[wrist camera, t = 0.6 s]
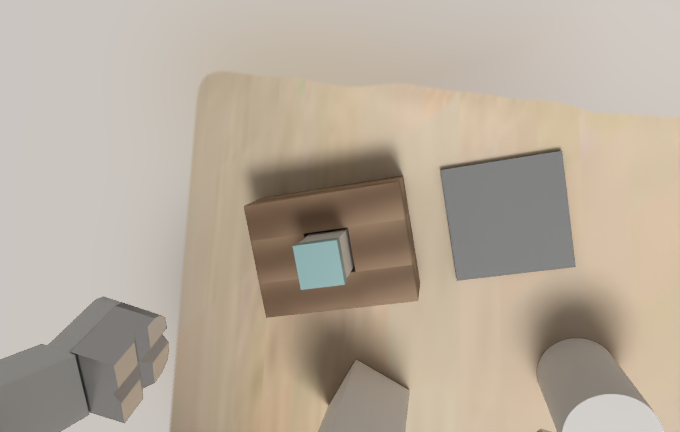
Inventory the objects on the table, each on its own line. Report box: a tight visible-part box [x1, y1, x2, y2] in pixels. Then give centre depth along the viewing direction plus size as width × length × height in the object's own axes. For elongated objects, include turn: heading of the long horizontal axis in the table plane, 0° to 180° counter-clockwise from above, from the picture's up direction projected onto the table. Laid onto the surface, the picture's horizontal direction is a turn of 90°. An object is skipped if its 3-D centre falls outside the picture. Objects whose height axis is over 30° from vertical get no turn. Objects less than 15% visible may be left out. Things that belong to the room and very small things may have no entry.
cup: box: [537, 338, 664, 432], centre depth 51 cm, size 8×8×12 cm
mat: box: [441, 151, 576, 281], centre depth 55 cm, size 12×12×1 cm
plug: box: [293, 227, 354, 290], centre depth 53 cm, size 4×4×11 cm
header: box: [244, 176, 420, 318], centre depth 56 cm, size 12×16×6 cm
